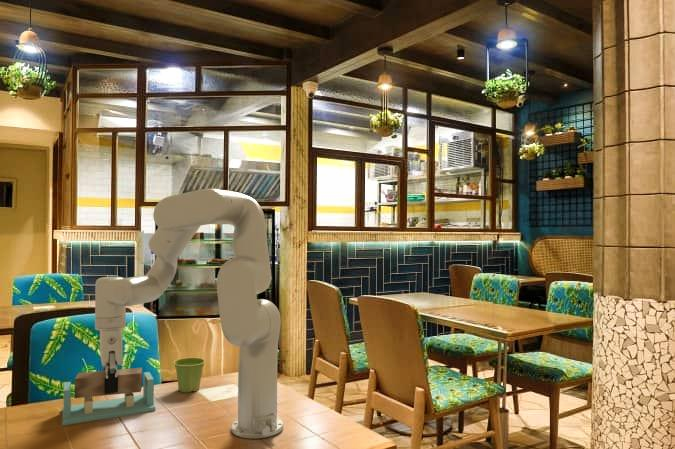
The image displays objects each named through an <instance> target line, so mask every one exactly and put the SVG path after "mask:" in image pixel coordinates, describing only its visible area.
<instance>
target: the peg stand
mask: <svg viewBox="0 0 675 449" xmlns="http://www.w3.org/2000/svg"><path fill="white" fill-rule="evenodd" d="M154 383H155V379H154V376H153V375H152V374H151V372H150V371H146V372H143V374H142V387H143V389H142V390H143V393H142V394H139V395H135V393H125V394H124V397H121V398H120V397H119V398H114V399H105V400H98V401H93V397H83V398H84V403H79V404H72V382H71V381H65V382H64V381H63V406H62V421H61V422H62V426H68V425H69V426H70V425H75V424H80V423H87V422H93V421H99V420H104V419H105V420H106V419H114V418H118V417H125V416H130V415H136V414H143V413H149V412H155V411H156V405H155V403H154V402H155V399H154V397H155V394H154V389H155V384H154Z"/></svg>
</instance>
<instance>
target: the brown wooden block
mask: <svg viewBox="0 0 675 449" xmlns="http://www.w3.org/2000/svg"><path fill="white" fill-rule="evenodd" d="M117 377H118V392H116V393H109V394H105V392H104V383H105V378H106V371H103V370H99V371H98V370H97V371H87V372H78V373H77V375H76V376H75V378H74V399H82V398H84V397H92V398H93V397H101V396H102V397H103V396H111V395H113V396H114V395H122V394H123V395H125V393H133V394H136V393H142V392H141V391H142V387H143V367H136V368H135V367H133V368H132V367H131V368H123V369H122V368H121V369H117Z"/></svg>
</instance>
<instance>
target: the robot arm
mask: <svg viewBox="0 0 675 449" xmlns="http://www.w3.org/2000/svg"><path fill="white" fill-rule="evenodd" d="M152 216H153V221H154V224H155V225H156V226H157V229H156V231H155V232H154V233H153V235H152V236H151V238H149V240H148V248H149V250H150V251H151V252H152V253H153V254H154V255H155V256H156V258H155V260H154V263H153V264H152V266H151V267H150V268H149V270H148V271H147V273H146V274H143V275H138V276H131V277H130V276H129V277H123V276H122V277H121V276H105V277H104V276H103V277H100V278H97V279H96V281H95V293H94V294H95V296H94V297H95V298H94V299H95V302H94V304H95V306H94V307H95V308H94V312H95V314H94V315H95V316H94V320H95V321H94V330H96V331H99V353H100V354H99V355H100V360H101V365H102V369H103V370H102V371H106V378H105V383H104V392H105V394H109V393H116V392H118V377H117V370H118V366H120V367H122V366H123V364H124V363H123V359H124V358H123V331H122V330H123V329H125V328H126V322H127V321H126V313H127V312H126V311H127V310H126V309H127V308H126V307H133V306H138V305H141V304H146V303H150V302H154V301H156V300H158V299H159V298H160V297H161V296H162V295H163V294H164V293H165V291H167V289H168V287H169V286H170V284H171V283H172V282H173V280H174V279H175V275H176V273H177V268H178V259H179V257H180V256H181V254H182V253H183V251H184V250H185V248H186V247H187V245H188V244H189V243H190V242H191V240H192V238H194V236H195V234H196V233H197V232H198V230H199V229H200V227H201V226H206V225H231V226H233V227H234V230H233V233H232V248H233V258H231V259H229V260H227V261H226V262H224V263H223V264H222V265H221V267H220V268H219V270H218V273H217V278H216V293H217V301H218V303H217V304H218V310H219V312H218V313H219V320H220V321H219V322H220V328H221V332H222V335H223V336H224V338H225V339H226V341H227V342H228V343H230V344H231V345H232V346H235V347H239V349H238V364H237V365H238V366H237V367H238V368H237V369H238V371H237V373H238V375H237V376H238V377H237V382H238V383H237V386H238V387H237V388H238V389H237V419H236V420H235V421H233V423H231V426H230V427H231V430H230V431H231V432H232V434H233V435H235V436H237V437H239V438H243V439H253V440H254V439H255V440H257V439H265V438H270V437H273V436H275V435H277V434H279V433H281V431H283V429H284V422H283V420H282V419H281V418H279V417H278V364H279V362H278V354H279V353H278V352H279V349H278V348H279V338H280V332H281V327H282V326H281V324H282V322H281V314H280V310H279V309H278V307H277V306H276V305H275V304H274V303H273V302H272V301H270V300H268V299H264V298H260V299H259V298H258V299H257V297H258V295H259V294H261V293H263V292H265V291H267V289H268V288H269V287H270V286H271V282H272V269H271V260H270V253H269V244H268V239H267V238H268V237H267V226H266V218H265V214H264V211H263V208H262V206H261V205H260V204H259V203H258V202H257V201H256V200H255V199H254V198H253V197H251V196H248V195H246V194H244V193H240V192H238V191H237V192H235V191H231V190H225V189H224V190H223V189H217V188H202V189H198V190H192V191H188V192H184V193H178V194H174V195H169V196H166V197H164V198H162V199H160V200H159V201H158V202H157V203H156V205H155V207H154V210H153V215H152Z"/></svg>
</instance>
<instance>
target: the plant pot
mask: <svg viewBox="0 0 675 449" xmlns="http://www.w3.org/2000/svg"><path fill="white" fill-rule="evenodd" d="M205 363H206V360H205V359H204V358H202V357H183V358H179V359H175V360H174V361H173V365H174V368H175V371H176V379H177V385H178V386H177V389H178V391H180V392H181V393H191V392H197V391H199V389H200V387H201V385H200V384H201V379H202V373H203V372H202V371H203V367H204V366H205V365H204V364H205Z"/></svg>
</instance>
